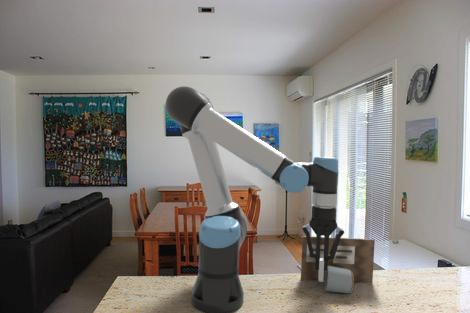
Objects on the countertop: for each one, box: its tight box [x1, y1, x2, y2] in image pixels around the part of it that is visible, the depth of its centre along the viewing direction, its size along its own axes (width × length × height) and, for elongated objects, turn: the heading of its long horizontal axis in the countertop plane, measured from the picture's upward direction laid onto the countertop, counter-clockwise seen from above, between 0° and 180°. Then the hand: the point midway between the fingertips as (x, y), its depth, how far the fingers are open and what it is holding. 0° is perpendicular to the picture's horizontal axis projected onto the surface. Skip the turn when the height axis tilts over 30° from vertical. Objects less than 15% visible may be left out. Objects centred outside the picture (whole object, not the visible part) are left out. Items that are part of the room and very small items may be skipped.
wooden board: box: [300, 235, 376, 285], centre depth 107 cm, size 24×1×15 cm, turn 88°
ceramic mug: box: [324, 266, 355, 294], centre depth 102 cm, size 11×8×8 cm
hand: (320, 279), depth 100 cm, fingers closed
